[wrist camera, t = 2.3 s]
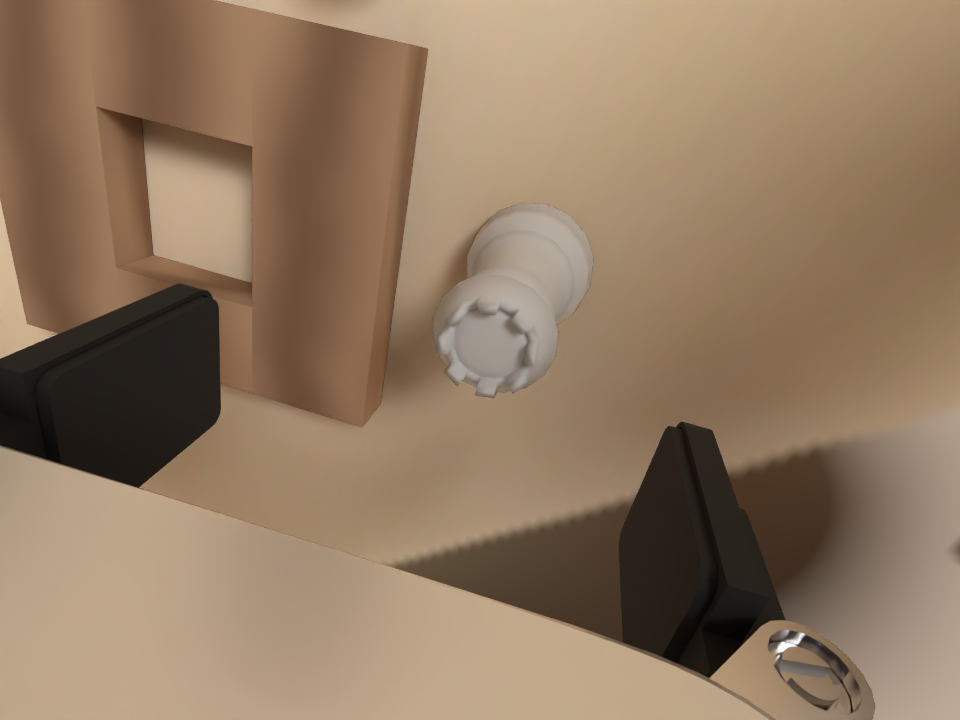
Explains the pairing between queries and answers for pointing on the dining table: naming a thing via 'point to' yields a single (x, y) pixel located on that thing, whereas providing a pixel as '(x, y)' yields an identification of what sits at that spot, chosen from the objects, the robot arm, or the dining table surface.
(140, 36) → the board
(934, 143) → the dining table surface
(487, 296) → the rook chess piece
